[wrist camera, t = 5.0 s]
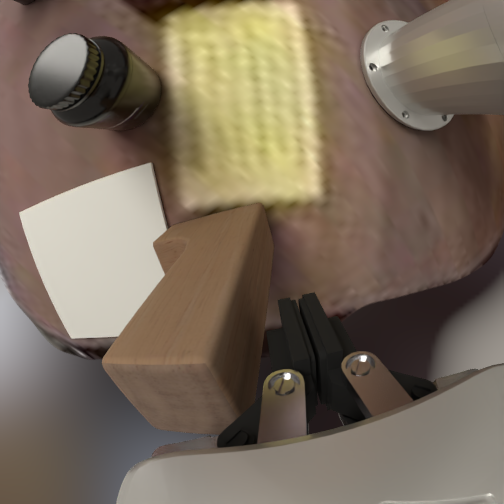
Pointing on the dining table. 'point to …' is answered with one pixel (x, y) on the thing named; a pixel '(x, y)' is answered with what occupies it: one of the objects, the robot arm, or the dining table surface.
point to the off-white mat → (99, 250)
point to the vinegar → (24, 1)
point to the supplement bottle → (94, 83)
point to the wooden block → (199, 324)
